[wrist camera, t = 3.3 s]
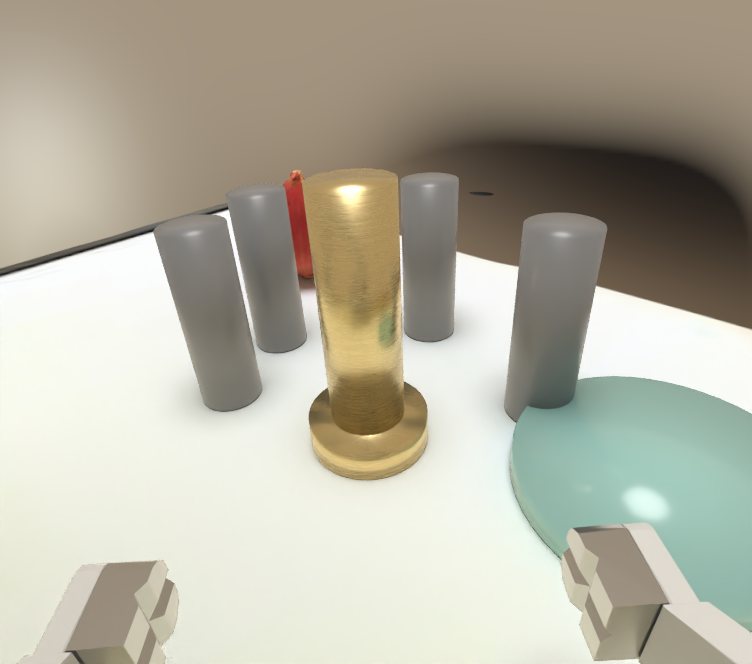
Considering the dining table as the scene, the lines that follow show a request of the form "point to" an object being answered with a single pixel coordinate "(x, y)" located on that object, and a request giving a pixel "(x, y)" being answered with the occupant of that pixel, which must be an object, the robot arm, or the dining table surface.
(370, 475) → the bolt
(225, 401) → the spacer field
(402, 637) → the dining table surface
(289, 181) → the pomegranate
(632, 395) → the saucer
